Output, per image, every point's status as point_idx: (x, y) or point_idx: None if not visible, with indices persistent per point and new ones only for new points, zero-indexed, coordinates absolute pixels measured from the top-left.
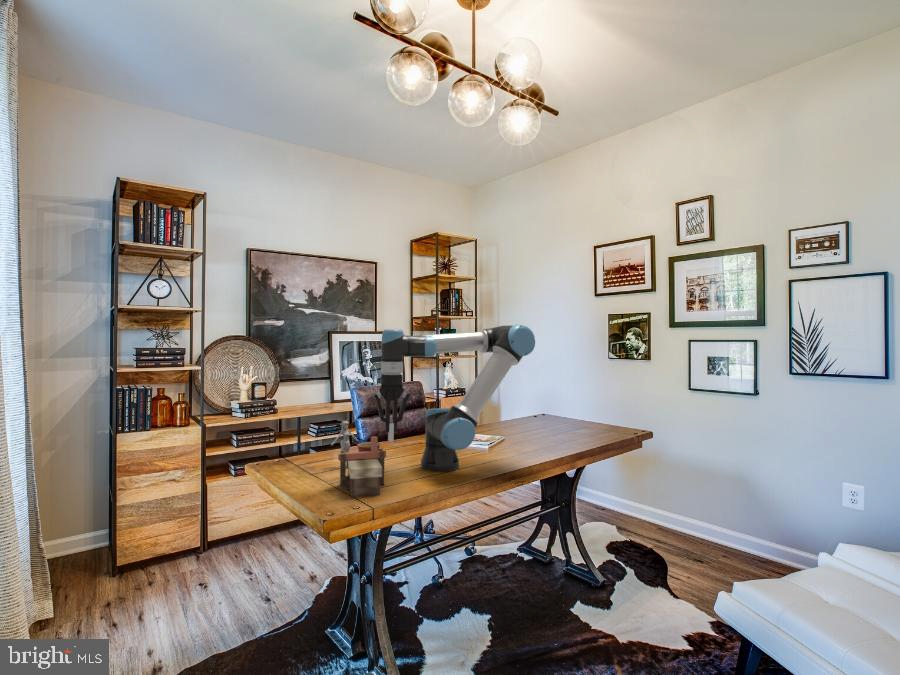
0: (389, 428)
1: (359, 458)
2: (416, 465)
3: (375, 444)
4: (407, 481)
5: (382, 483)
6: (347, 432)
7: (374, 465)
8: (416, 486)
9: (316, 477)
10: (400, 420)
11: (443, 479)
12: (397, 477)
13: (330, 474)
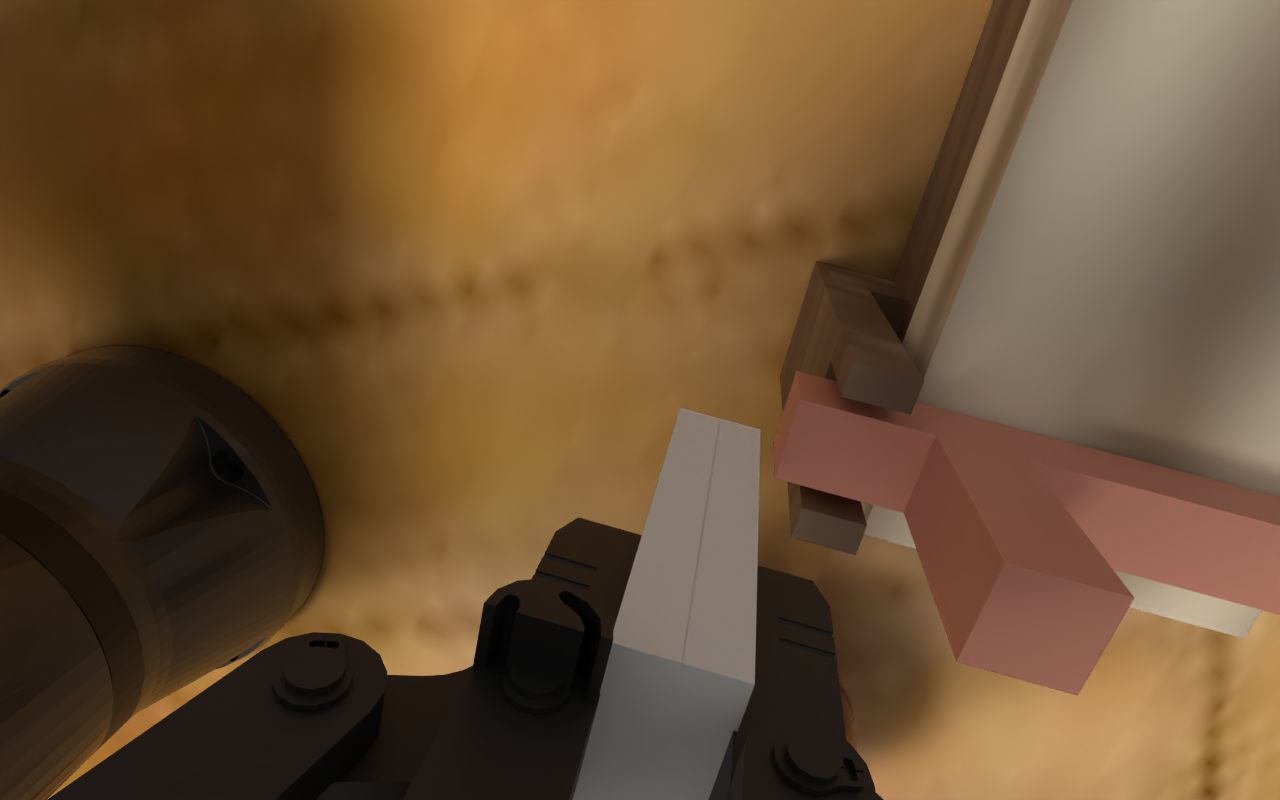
0: (754, 591)
1: (1176, 473)
2: (338, 627)
3: (1003, 504)
4: (567, 270)
5: (835, 268)
6: None
7: (1162, 59)
8: (549, 79)
9: (1221, 762)
10: (343, 643)
11: (243, 158)
12: (603, 422)
13: (1073, 771)
